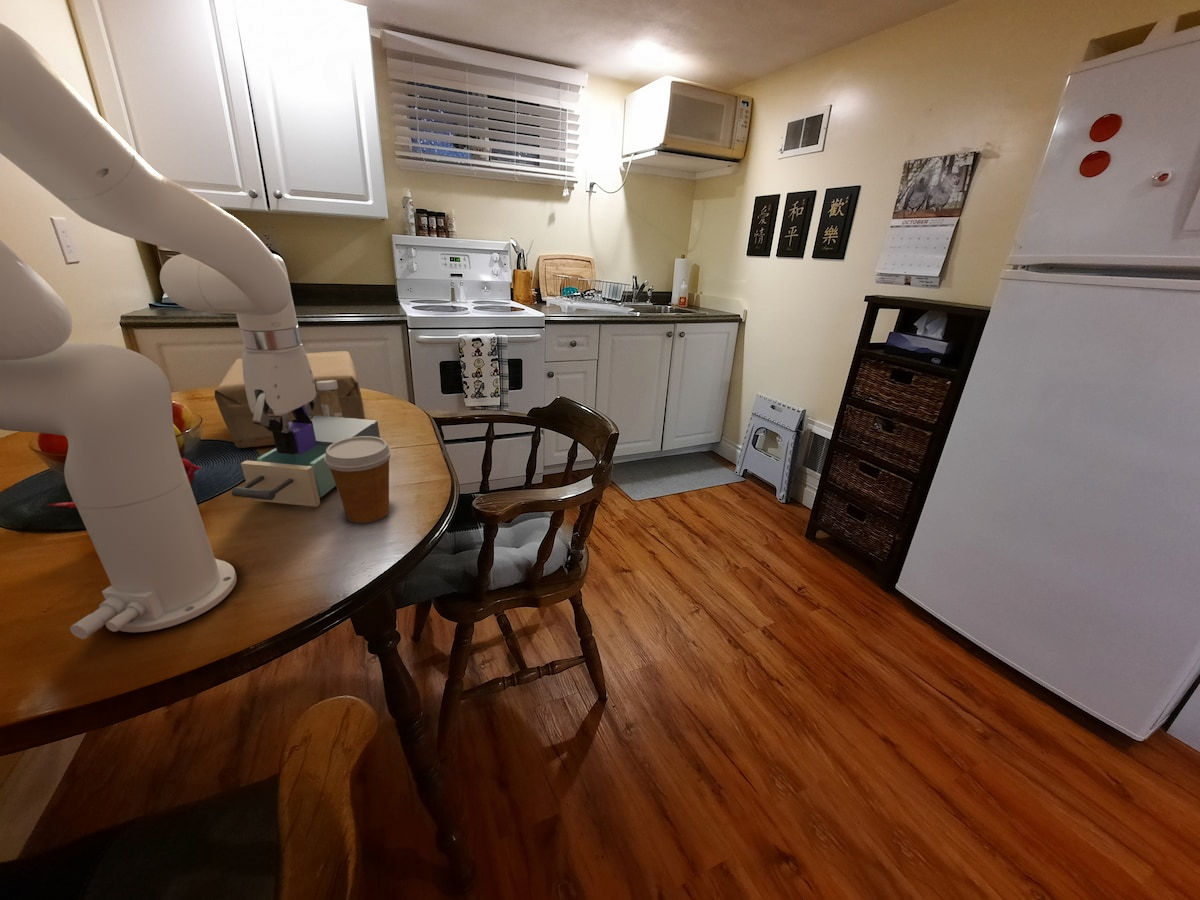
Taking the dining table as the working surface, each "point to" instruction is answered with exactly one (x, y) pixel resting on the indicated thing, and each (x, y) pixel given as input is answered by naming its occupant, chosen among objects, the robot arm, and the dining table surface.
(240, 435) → the paper package
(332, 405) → the sprinkles bottle
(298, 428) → the cube
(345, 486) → the disposable coffee cup
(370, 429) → the drawer cabinet
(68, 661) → the dining table surface
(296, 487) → the drawer
